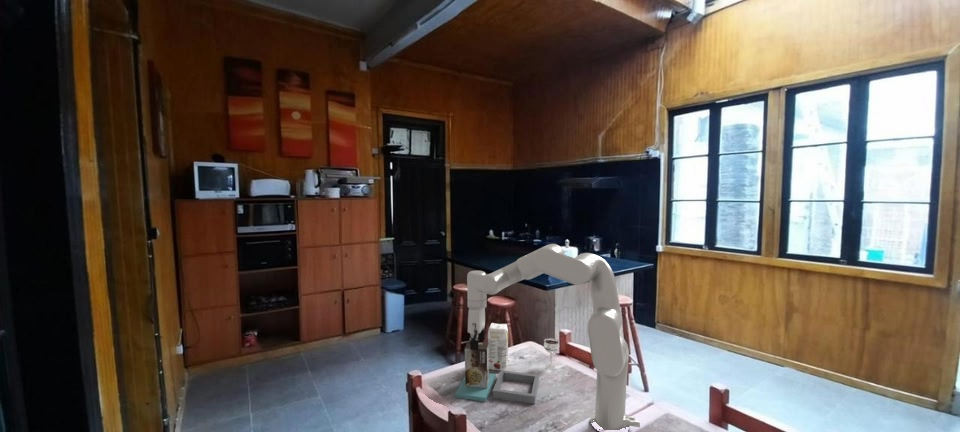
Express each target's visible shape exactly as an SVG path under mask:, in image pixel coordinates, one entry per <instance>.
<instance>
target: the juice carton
mask: <svg viewBox="0 0 960 432" xmlns="http://www.w3.org/2000/svg"><path fill="white" fill-rule="evenodd" d="M487 330H488V332H487V342H488V343H489V370H492V371H499V372H500V371H501V370H503V371H506V367H507V363H508V361H509V360H508V359H509V350H508V349H509V329H508V323H495V322H491V323H490V325H489V327H488V329H487Z"/></svg>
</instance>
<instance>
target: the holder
mask: <svg viewBox="0 0 960 432" xmlns="http://www.w3.org/2000/svg"><path fill="white" fill-rule="evenodd" d="M504 380H508V381H514V382H520V383H521V382H523V383H529V384H532V389H531V393H529V392H528V393H527V392H521V391H513V390H509V389H508V390H506V389H502V388H501V387H502V384H503V381H504ZM539 384H540V374H533V373H525V372H518V371H510V370H504V371H503V370H501V371H499V374H498V376H497V379H496V381H495V384H494V387H493V389H492V398H493V399H496V400H497V399H498V400H503V401H511V402H517V403H524V404H531V405H536V399H537V394H538V388H539Z"/></svg>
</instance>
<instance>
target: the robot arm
mask: <svg viewBox="0 0 960 432" xmlns="http://www.w3.org/2000/svg"><path fill="white" fill-rule="evenodd" d="M542 274H545V275H548V276H550V277H552V278H555V279H558V280H560V281H563V282H565V283H569V284H572V285H574V286H575V285H577V286H581V285H585V284H588V282H589V284H590V297H591V301H592V313H591V315H590V317H589V318H588V321H587V333H588V334H587V335H588V340H589V341H588V342H589V348H590V354H591V360H592V364H593V366H594V368H595V370H596V383H595V384H596V387H595V411H594V413H593V414H592V415H591V416H590V418H589V419H590V420H589V422H590V421H591V423H593V422H596V423H597V424H598V425H599V426H600V427H602V428H603V429H604V430H620V429H622V428H625V429H626V427H629V428H630V427H635V428H640V427H641V424H640V423H641V422H640V420H636V418H635V416H632V415H631V416H630V415H629V416H628V415H627V414H626V399H627V398H626V397H627V384H628V383H627V381H628V380H627V379H628V367H629V351H630V350H629V346H628V343H627V341H626V340H625V338H624V337H622V336H621V335H620V330H621V328H622V325H623V315H622V312H621V311H622V310H621V304H620V300H619V294H618V287H617V282H616V277H615V274H614V271H613V269H612V268H611V266H610V265H609V263H608V262H607V261H606V260H605V259H604V258H602V257H601V256H599V255H598V254H594V253H591V252H584V253H579V255H577V256H575V257H572V256H570V255H567V254H565V251H564V249H563V248H562V247H561V246H560V245H558V244H557V243H549V244H546V245H545V246H542V247H540V248H538V249H536V250H534V251H532V252H530V253H528V254H526V255H524V256H521V257H519V258H517V260H516V261H514V262H512V263H510V264H508V265H505V266H504V267H501V268H499V269H497V270H495V271H493V272H491V273H488V274H487V273H486V272H485V271H483V270H470V271H469V272H468V273H467V276H466V278H467V279H466V283H467V284H466V286H467V288H466V289H467V290H466V291H467V292H466V293H467V308H468V315H467V333H468V334H469V335H470V336H469V342H470V349H471V350H478V349H479V342H480V340H481V341H484V340H485V338H486V337H485V327H486V326H485V325H486V311H485V310H486V308H487V305H488V304H487V298H488V297H487V295H496V294H498V293H499V292H501V291H502V290H504V289H505V288H507V287H509V286H511V285H514V284H516V283H518V282H521V281H523V280H527V281H529V280H532V279H534V278H537V277H538V276H541V275H542ZM593 420H594V421H593ZM591 423H590V424H591ZM599 430H600V429H599Z"/></svg>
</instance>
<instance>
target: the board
mask: <svg viewBox="0 0 960 432" xmlns="http://www.w3.org/2000/svg"><path fill="white" fill-rule="evenodd" d="M496 376H497V375H496V373H490V372H489V383H488V387H487V388H478V387H465V376H464V378H463V380H462V381H461V382H460V384H459V386H458V387H457V390H456V392H455V394H454V395H455V398H461V399H466V400H473V401H479V402H487V400H488V397H489V395H490V392H491V390H492V388H493V385H494V383H495V380H496V378H497V377H496Z"/></svg>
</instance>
